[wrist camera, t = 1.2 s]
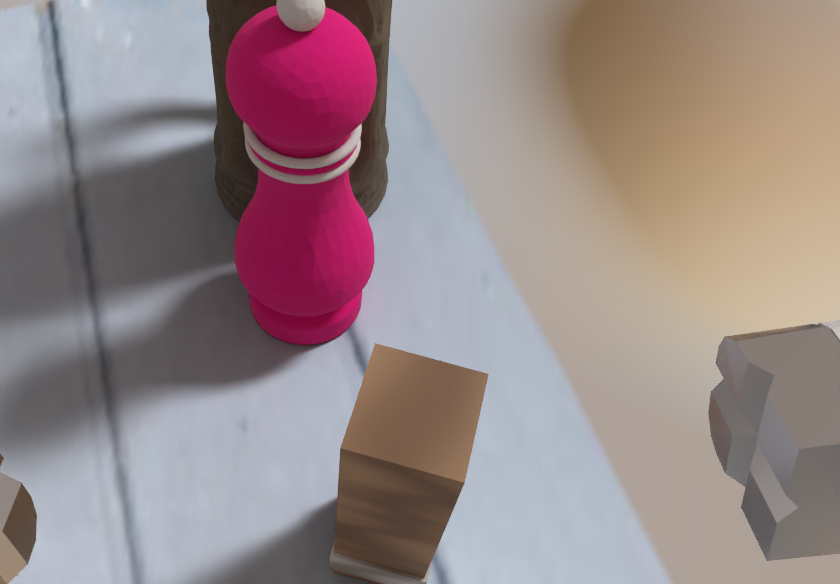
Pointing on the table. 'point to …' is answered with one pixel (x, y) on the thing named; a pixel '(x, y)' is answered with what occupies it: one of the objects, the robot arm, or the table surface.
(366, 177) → the beer stein
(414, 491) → the rail
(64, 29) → the table surface
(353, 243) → the pepper mill
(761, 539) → the robot arm
